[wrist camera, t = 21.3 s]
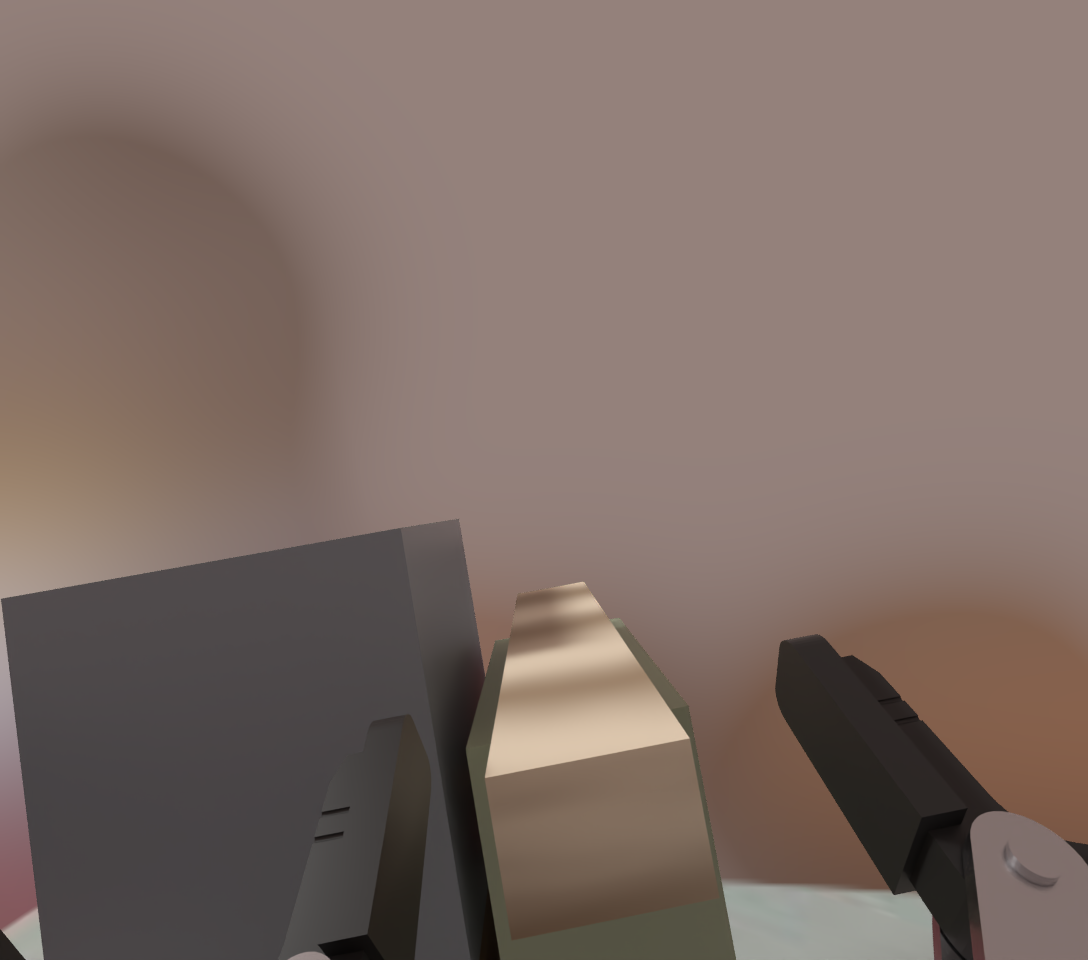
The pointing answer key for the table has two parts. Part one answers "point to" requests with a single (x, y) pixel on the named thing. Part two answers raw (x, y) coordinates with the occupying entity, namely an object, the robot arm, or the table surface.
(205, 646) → the block
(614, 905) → the birch slat
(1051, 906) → the robot arm
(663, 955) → the olive box
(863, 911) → the table surface
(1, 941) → the phone stand
